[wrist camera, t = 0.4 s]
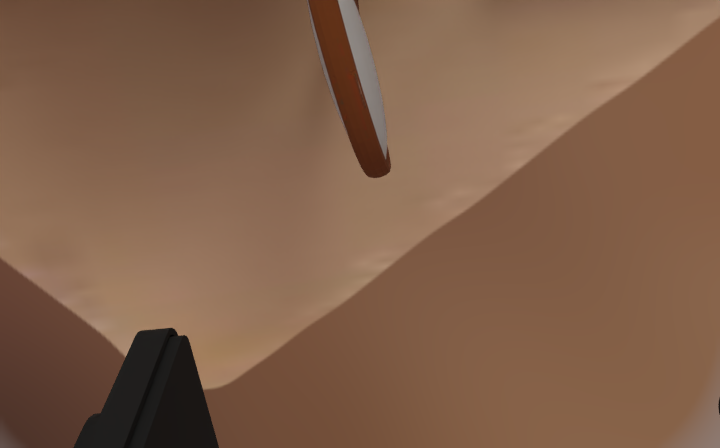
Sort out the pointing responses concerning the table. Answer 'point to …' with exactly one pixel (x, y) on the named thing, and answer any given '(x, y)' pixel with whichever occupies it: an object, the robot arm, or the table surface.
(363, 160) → the magnifying glass
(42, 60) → the table surface
